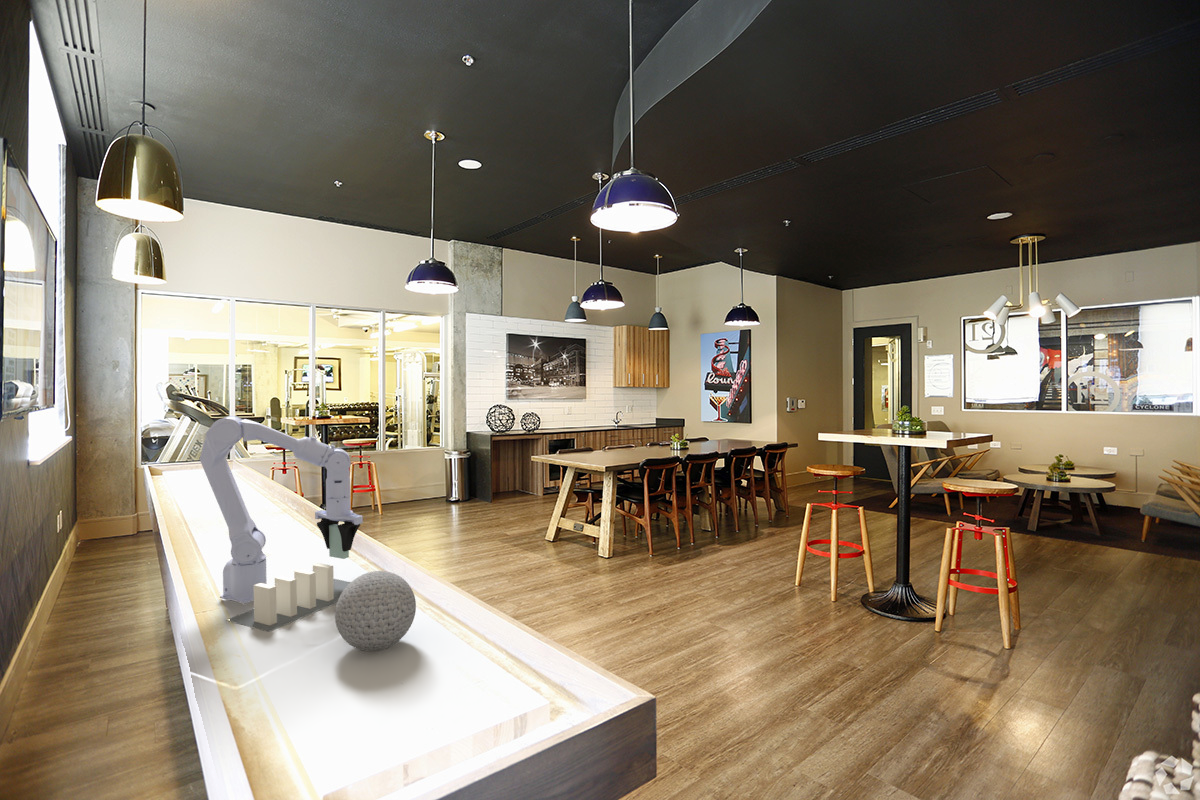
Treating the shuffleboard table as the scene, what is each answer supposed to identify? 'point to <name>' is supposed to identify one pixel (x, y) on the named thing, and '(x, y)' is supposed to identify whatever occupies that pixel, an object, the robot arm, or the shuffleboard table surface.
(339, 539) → the domino
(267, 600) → the domino
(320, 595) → the domino
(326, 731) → the shuffleboard table surface
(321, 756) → the shuffleboard table surface
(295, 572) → the domino
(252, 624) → the slate mat
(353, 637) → the decorative ball
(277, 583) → the domino
